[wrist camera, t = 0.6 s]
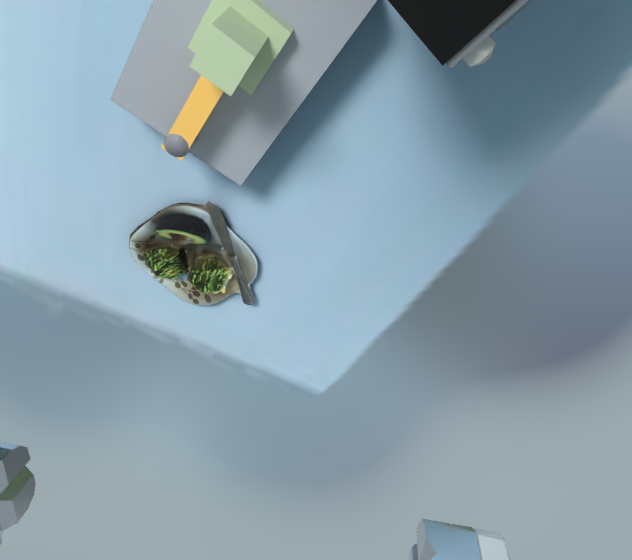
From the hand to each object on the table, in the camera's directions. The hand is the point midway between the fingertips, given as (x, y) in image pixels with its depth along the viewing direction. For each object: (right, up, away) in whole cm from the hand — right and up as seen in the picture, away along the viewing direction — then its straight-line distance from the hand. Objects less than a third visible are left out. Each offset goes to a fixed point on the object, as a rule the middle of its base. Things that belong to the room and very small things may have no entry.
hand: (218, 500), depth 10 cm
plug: (-5, +29, +37) cm, 48 cm away
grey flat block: (-6, +29, +40) cm, 50 cm away
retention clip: (-9, +23, +39) cm, 46 cm away
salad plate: (-15, +9, +60) cm, 63 cm away
